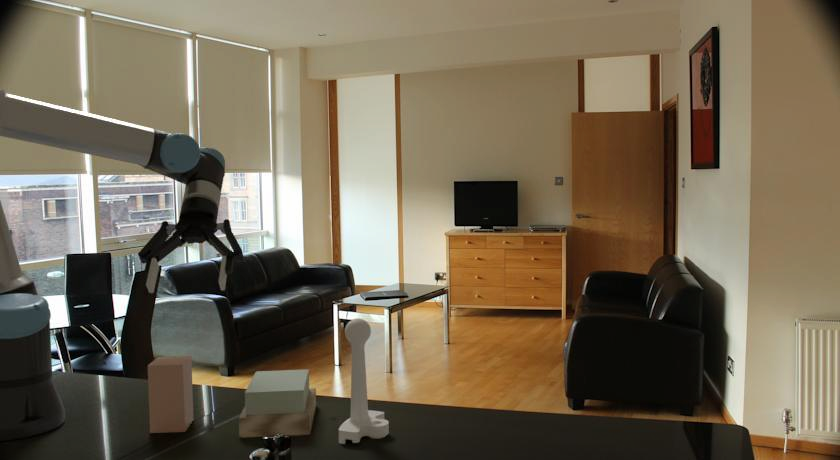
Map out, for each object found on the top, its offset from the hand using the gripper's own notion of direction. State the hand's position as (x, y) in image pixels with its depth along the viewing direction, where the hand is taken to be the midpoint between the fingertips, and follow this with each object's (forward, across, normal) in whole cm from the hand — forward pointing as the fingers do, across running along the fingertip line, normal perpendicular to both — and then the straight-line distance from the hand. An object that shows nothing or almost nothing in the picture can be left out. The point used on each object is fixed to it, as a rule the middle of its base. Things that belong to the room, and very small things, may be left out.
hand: (185, 287), depth 135 cm
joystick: (+30, -34, -4) cm, 46 cm away
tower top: (+21, -18, -7) cm, 29 cm away
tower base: (+24, -18, -10) cm, 32 cm away
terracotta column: (+24, +1, -9) cm, 26 cm away
